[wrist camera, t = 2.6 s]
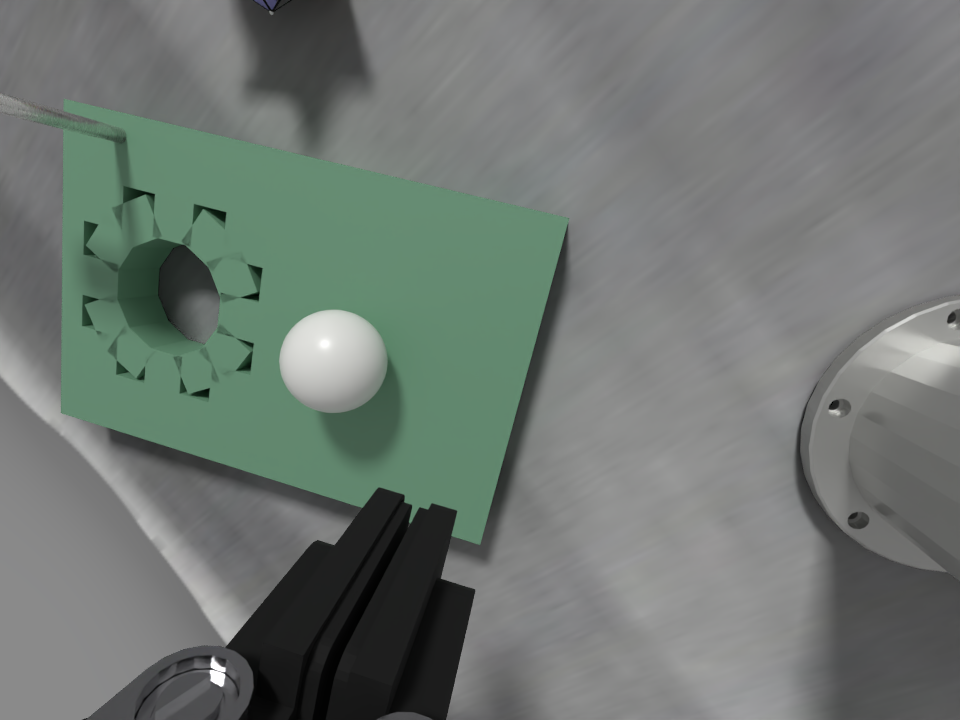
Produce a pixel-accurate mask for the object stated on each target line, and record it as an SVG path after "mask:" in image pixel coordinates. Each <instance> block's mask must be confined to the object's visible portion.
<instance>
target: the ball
mask: <svg viewBox="0 0 960 720" xmlns="http://www.w3.org/2000/svg"><path fill="white" fill-rule="evenodd" d="M279 364H280V371H281V376H282V379H283V381H284V383H285V385H286V387H287V389H288V390H289V391H290V393H291V394H292V395H293V396H294V397H295V398H296V399H297V400H298V401H299V402H301V403H302V404H304V405H305V406H307V407H309V408H311V409H314V410H317V411H321V412H325V413H341V412H346V411H350V410H353V409H356V408H358V407H360V406H362V405H363V404H365V403H366V402H368V401H369V400H370V399H371V398H372V397H373V396H374V395H375V394H376V393H377V391H378V390H379V388H380V387H381V385H382V383H383V381H384V378H385V376H386V372H387V364H388V357H387V351H386V347H385V344H384V342H383V339H382V338H381V336H380V334H379V333H378V331H377V330H376V329H375V328H374V327H373V325H372V324H370V323H369V322H368V321H367V320H365V319H364V318H362V317H360V316H358V315H356V314H354V313H351V312H348V311H343V310H324V311H319V312H316V313H313V314H311V315H308V316H307V317H305V318H303V319H302V320H300V321H299V322H298V323H297V324H295V326H294V327H293V328H292V329H291V330H290V331H289V333H288V334H287V336H286V337H285V339H284V341H283V344H282V347H281V351H280V358H279Z"/></svg>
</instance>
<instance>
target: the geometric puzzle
mask: <svg viewBox="0 0 960 720" xmlns="http://www.w3.org/2000/svg"><path fill="white" fill-rule="evenodd" d="M253 1H255V2H256V3H258V4H259V5H261V6H262V7H264V8H265V9H267V10H268V11H269V13H270V14H271V15H273V12H275V11H276V10H278V9H279V8H281V7H282V6H284V5H285V4H287V3H288V2H290V1H292V0H290V1H288V2H287V3H285V4H284V5H282V6H281V7H279V8H278V9H276V7H277V6H278V4H279V3H280V1H281V0H278V2H277V3H276V1H277V0H253ZM275 4H276V5H275ZM275 9H276V10H275Z"/></svg>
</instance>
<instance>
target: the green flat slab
mask: <svg viewBox="0 0 960 720" xmlns="http://www.w3.org/2000/svg"><path fill="white" fill-rule="evenodd" d="M64 111H65V112H68V113H72V114H75V115H79V116H82V117H86V118H89V119H93V120H96V121H100V122H103V123H106V124H110V125H113V126H117V127H120V128H122V129H124V131H125V132H126V141H125V142H124V143H122V144H120V143H116V142H112V141H108V140H104V139H100V138H96V137H92V136H88V135H84V134H80V133H76V132H72V131H68V130H63V243H62V355H61V413H62V414H66V415H69V416H72V417H75V418H78V419H81V420H85V421H88V422H91V423H94V424H97V425H101V426H104V427H107V428H110V429H113V430H116V431H120V432H123V433H126V434H129V435H132V436H135V437H139V438H142V439H145V440H148V441H151V442H155V443H158V444H161V445H164V446H167V447H170V448H174V449H177V450H180V451H183V452H186V453H189V454H193V455H196V456H199V457H202V458H205V459H209V460H212V461H215V462H218V463H221V464H224V465H228V466H231V467H234V468H237V469H240V470H243V471H247V472H250V473H253V474H256V475H259V476H263V477H266V478H269V479H272V480H275V481H278V482H282V483H285V484H288V485H291V486H294V487H297V488H301V489H304V490H307V491H310V492H313V493H316V494H320V495H323V496H326V497H329V498H332V499H336V500H339V501H342V502H345V503H348V504H351V505H355V506H358V507H361V508H363V507H364V505H365V504H366V503H367V501H368V500H369V499H370V497H371V496H372V495H373V493H374V492H375V491H376V489H377V488H378V487H380V488H384V489H387V490H390V491H394V492H397V493H400V494H404V495H405V501H404V502H405V503H408V504H411V505H412V511H411V516H410V520H409V523H411V522H412V520H413V518H414V516H415V514H416V512H417V511H418V509H419V507H421V508H425V509H429V507H430V505H431V503H434V504H437V505H440V506H444V507H447V508H450V509H454V510H457V515H456V520H455V524H454V527H453V531H452V535H451V536H453V537H456V538H459V539H463V540H466V541H469V542H472V543H475V544H478V545H480V543H481V540H482V536H483V532H484V529H485V525H486V521H487V518H488V514H489V510H490V507H491V503H492V499H493V496H494V492H495V488H496V485H497V481H498V478H499V474H500V470H501V467H502V463H503V459H504V456H505V452H506V448H507V445H508V441H509V437H510V434H511V430H512V426H513V423H514V419H515V415H516V412H517V408H518V404H519V401H520V397H521V393H522V390H523V386H524V382H525V379H526V375H527V371H528V368H529V364H530V360H531V357H532V353H533V349H534V346H535V342H536V338H537V335H538V331H539V327H540V324H541V320H542V316H543V313H544V309H545V305H546V302H547V298H548V294H549V291H550V287H551V283H552V280H553V276H554V272H555V269H556V265H557V262H558V258H559V254H560V251H561V247H562V243H563V240H564V236H565V232H566V229H567V225H568V221H569V218H566V217H562V216H558V215H553V214H549V213H545V212H541V211H536V210H532V209H528V208H524V207H519V206H515V205H511V204H507V203H502V202H498V201H494V200H490V199H486V198H481V197H477V196H473V195H469V194H464V193H460V192H456V191H452V190H447V189H443V188H439V187H435V186H430V185H426V184H422V183H418V182H414V181H409V180H405V179H401V178H397V177H392V176H388V175H384V174H380V173H375V172H371V171H367V170H363V169H358V168H354V167H350V166H346V165H342V164H337V163H333V162H329V161H325V160H320V159H316V158H312V157H308V156H303V155H299V154H295V153H291V152H286V151H282V150H278V149H274V148H270V147H265V146H261V145H257V144H253V143H248V142H244V141H240V140H236V139H231V138H227V137H223V136H219V135H214V134H210V133H206V132H202V131H198V130H193V129H189V128H185V127H181V126H176V125H172V124H168V123H164V122H159V121H155V120H151V119H147V118H142V117H138V116H134V115H130V114H125V113H121V112H117V111H113V110H109V109H104V108H100V107H96V106H92V105H87V104H83V103H79V102H75V101H70V100H66V99H64ZM180 245H186V246H187V247H188V248H189V249H190V250H191V251H192V252H193V253H194V254H195V255H196V256H197V257H198V258H199V259H200V260H201V261H202V262H203V263H205V264H206V265H207V266H208V267H209V270H210V272H211V275H212V277H213V280H214V283H215V285H216V288H217V290H218V293H219V296H220V307H219V317H218V328H217V329H216V330H215V332H214V333H213V334H212V335H211V337H210V338H209V339H208V341H207V342H206V343H205V344H201V343H198V342H195V341H191V340H188V339H187V338H186V337H185V336H184V335H183V334H182V333H181V332H180V331H179V330H177V329H176V328H175V327H174V326H173V325H172V324H171V323H170V322H169V321H168V319H167V316H166V314H165V311H164V309H163V306H162V304H161V301H160V299H159V296H158V286H159V270H160V267H161V265H162V264H163V263H164V261H165V260H166V258H167V257H168V255H169V254H170V252H171V251H172V249H173V248H174V247H177V246H180ZM324 310H343V311H348V312H351V313H354V314H356V315H358V316H360V317H362V318H364V319H365V320H367V321H368V322H369V323H370V324H372V325H373V327H374V328H375V329H376V330H377V331H378V333H379V334H380V336H381V338H382V339H383V342H384V344H385V347H386V351H387V357H388V364H387V372H386V376H385V378H384V381H383V383H382V385H381V387H380V388H379V390H378V391H377V393H376V394H375V395H374V396H373V397H372V398H371V399H370V400H369V401H368V402H366V403H365V404H363V405H362V406H360V407H358V408H356V409H353V410H350V411H346V412H341V413H325V412H321V411H317V410H314V409H311V408H309V407H307V406H305V405H304V404H302V403H301V402H299V401H298V400H297V399H296V398H295V397H294V396H293V395H292V394H291V393H290V391H289V390H288V389H287V387H286V385H285V383H284V381H283V379H282V376H281V371H280V364H279V358H280V351H281V347H282V344H283V341H284V339H285V337H286V336H287V334H288V333H289V331H290V330H291V329H292V328H293V327H294V326H295V324H297V323H298V322H299V321H300V320H302V319H303V318H305V317H307V316H308V315H311V314H313V313H316V312H319V311H324Z"/></svg>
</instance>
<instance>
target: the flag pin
mask: <svg viewBox="0 0 960 720" xmlns="http://www.w3.org/2000/svg"><path fill="white" fill-rule="evenodd" d="M0 113H1V114H5V115H9V116H13V117H17V118H21V119H25V120H29V121H33V122H37V123H40V124H44V125H48V126H52V127H56V128H60V129H64V130H68V131H72V132H76V133H80V134H84V135H88V136H92V137H96V138H100V139H104V140H108V141H112V142H116V143H120V144H122V143H124V142H125V141H126V132H125V131H124V129H122V128H120V127H117V126H113V125H110V124H106V123H103V122H100V121H96V120H93V119H89V118H86V117H82V116H79V115H75V114H72V113H68V112H65V111H62V110H58V109H55V108H51V107H48V106H44V105H41V104H37V103H34V102H30V101H27V100H23V99H20V98H17V97H13V96H10V95H6V94H3V93H0Z"/></svg>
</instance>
